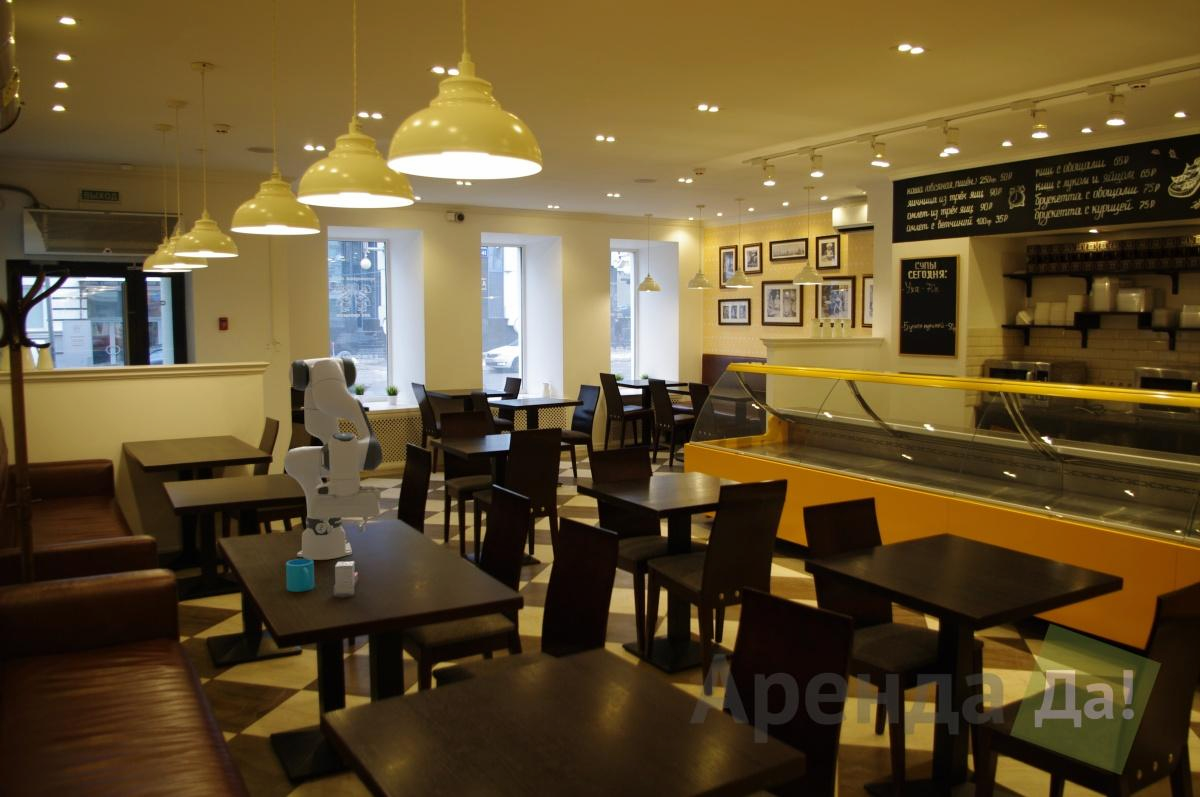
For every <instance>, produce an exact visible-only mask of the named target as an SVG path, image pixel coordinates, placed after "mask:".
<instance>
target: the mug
mask: <svg viewBox="0 0 1200 797" xmlns="http://www.w3.org/2000/svg"><path fill="white" fill-rule="evenodd" d="M314 564H315V563H314V560H312V559H306V558H297V559H291V560H288V561H286V563H285V572H286V575H285V576H286V590H287V591H289V592H300V593H301V592H306V591H309V590H313V589H314V588H315V565H314Z"/></svg>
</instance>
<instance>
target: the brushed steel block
mask: <svg viewBox="0 0 1200 797" xmlns="http://www.w3.org/2000/svg"><path fill="white" fill-rule="evenodd" d="M336 562H337V563H336V564H335V566H334V578H335V579H334V581H335V582H334V583H335V584H334V585H335V587H353V585H354V583H355V571H356V569H355V568H356V567H355V561H354V560H352V561H336Z"/></svg>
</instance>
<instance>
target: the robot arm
mask: <svg viewBox="0 0 1200 797" xmlns="http://www.w3.org/2000/svg"><path fill="white" fill-rule="evenodd" d="M357 372H358V371H357V368H356V366H355V363H354V361H353V360H352V359H350V358H346V357H341V358H339V357H338V358H337V357H321V358H310V359H297V360H294V361H293V362H292V363H291V364H290V366H289V371H288V379H289V383H290V384H291V387H292V388H293V389H294V390H296V391H300V392H301V391H302V392H304V398H303V399H304V404H303V408H304V409H303V410H304V427H305V428H304V429H305V431H306V432H307V433H308V434H310V435H311V436H313V437H315V438H318V439H319V440H320V441H321V442H322V444H323V446H299V447H296V448H291V449H289V450H288V451H287V453H286V454H285V456H284V458H283V465H284V469H285V471H286V473H287V475H289V476H290V477H292V478H293V479H294V480H296V482H297V483H298V484H299V485H300V486H301V488H302V490H303V492H304V495H305V499H306V500H305V501H306V509H307V510H306V511H307V512H306V513H307V514H306V515H307V516H306V517H305V523H306V524H305V526H306V529H305V530H303V532H302V534H301V550H300V551H298V552H297V554H296V557H300V558H303V559H311V560H313V561H314V560H315V561H317V560H318V561H324V560H331V559H332V560H333V559H337V558H342V557H345V556H351V555H352V554H353V550H352V547H351V542H348V539H346V531H345V529H344V528H343V526H342V523H343V522H342V521H343V520H342V519H343V518H344V519H345V518H346V519H347V518H362V521H363V523H362V524H359V527H358V529H359V531H358V532H360V533H361V532H363V533H364V532H365V530H366V524H367V522H368V520H369V518H376V517H378V516H379V515H380V513H381V505H380V499H381V490H380V488H378V487H376V486H374V485H373V486H372V485H370V486H363V485H362V486H361V475H360V471H363V472H364V471H366V472H367V471H368V472H369V471H372V472H373V471H374V470H376V469H377V468H379V467H380V465H381V464H382V463H383V460H384V459H383V456H384V455H383V448H382V446H381V444H380V442H379V440H378V438H377V437H376V436H377V435H375V432H374V430H373V427H372V425H371V422H370V419H369V417H368V415H367V411H366V410H365V408H364V405H363V404H362V402H361V401H360V399H358V398H355V397H354V396H353V395H352V394H351V392H350V391H349V389H350V388H351V387H352V386H354V384H356V379H357V377H358V376H357V375H358V374H357ZM339 418H340V419H344V420H347V421H349V422H350V423H352V424H353V425H354V427H355V429H356V431H357V434H358V436H357V435H356V434H355V433H352V432H348V431H347V432H346V431H345V432H344V431H343V432H342V431H341V430H340V426H339ZM358 437H359V439H358ZM323 478H329V481H325V482H323V480H322V479H323Z"/></svg>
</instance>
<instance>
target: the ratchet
mask: <svg viewBox="0 0 1200 797" xmlns="http://www.w3.org/2000/svg"><path fill="white" fill-rule="evenodd" d="M358 580H359V572H357V571H356V572H355V583H354V585H353V587H335V584H333V597H335V598H339V599H346V598H350V597H353V596H354V595H355V586H356V584H357V583H358Z"/></svg>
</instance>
